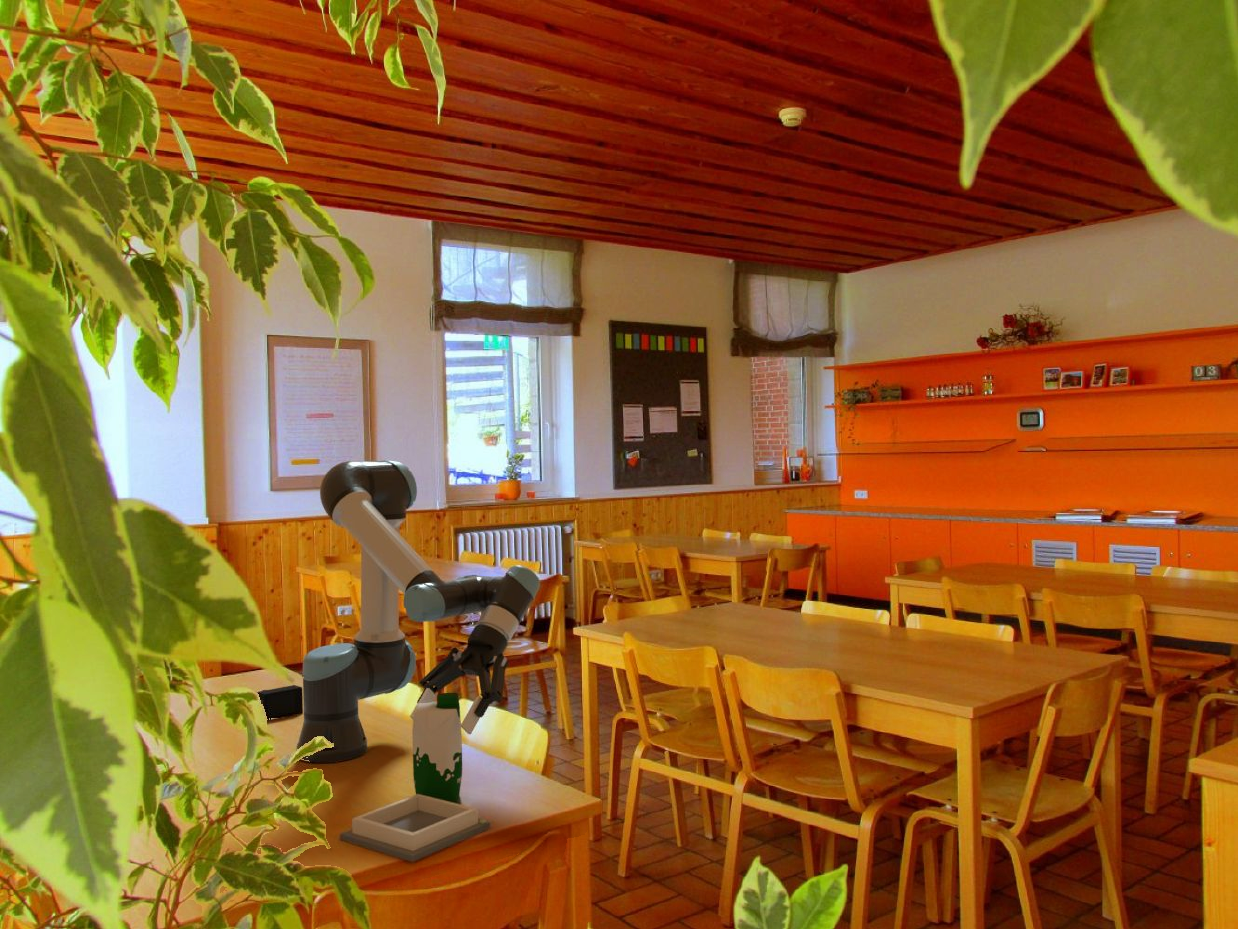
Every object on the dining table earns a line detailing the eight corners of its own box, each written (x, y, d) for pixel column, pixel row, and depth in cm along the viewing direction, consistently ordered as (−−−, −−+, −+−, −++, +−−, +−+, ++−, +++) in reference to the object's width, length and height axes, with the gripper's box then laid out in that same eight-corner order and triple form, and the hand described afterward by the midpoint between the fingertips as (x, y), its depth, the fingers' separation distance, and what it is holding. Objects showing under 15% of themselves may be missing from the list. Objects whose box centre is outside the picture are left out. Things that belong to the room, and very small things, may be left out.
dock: (339, 839, 174) (339, 819, 174) (419, 809, 189) (418, 790, 189) (412, 862, 163) (412, 840, 163) (490, 827, 178) (489, 807, 178)
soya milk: (461, 808, 189) (458, 699, 189) (411, 810, 188) (408, 702, 188) (464, 792, 197) (461, 689, 197) (417, 795, 197) (414, 691, 197)
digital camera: (293, 710, 268) (292, 683, 268) (303, 713, 265) (302, 686, 265) (255, 718, 261) (254, 690, 261) (265, 721, 257) (264, 693, 257)
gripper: (548, 650, 200) (498, 745, 188) (457, 639, 215) (405, 727, 203) (530, 627, 196) (477, 723, 184) (438, 618, 210) (384, 706, 198)
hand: (439, 725), depth 193 cm, fingers open, 13 cm apart
